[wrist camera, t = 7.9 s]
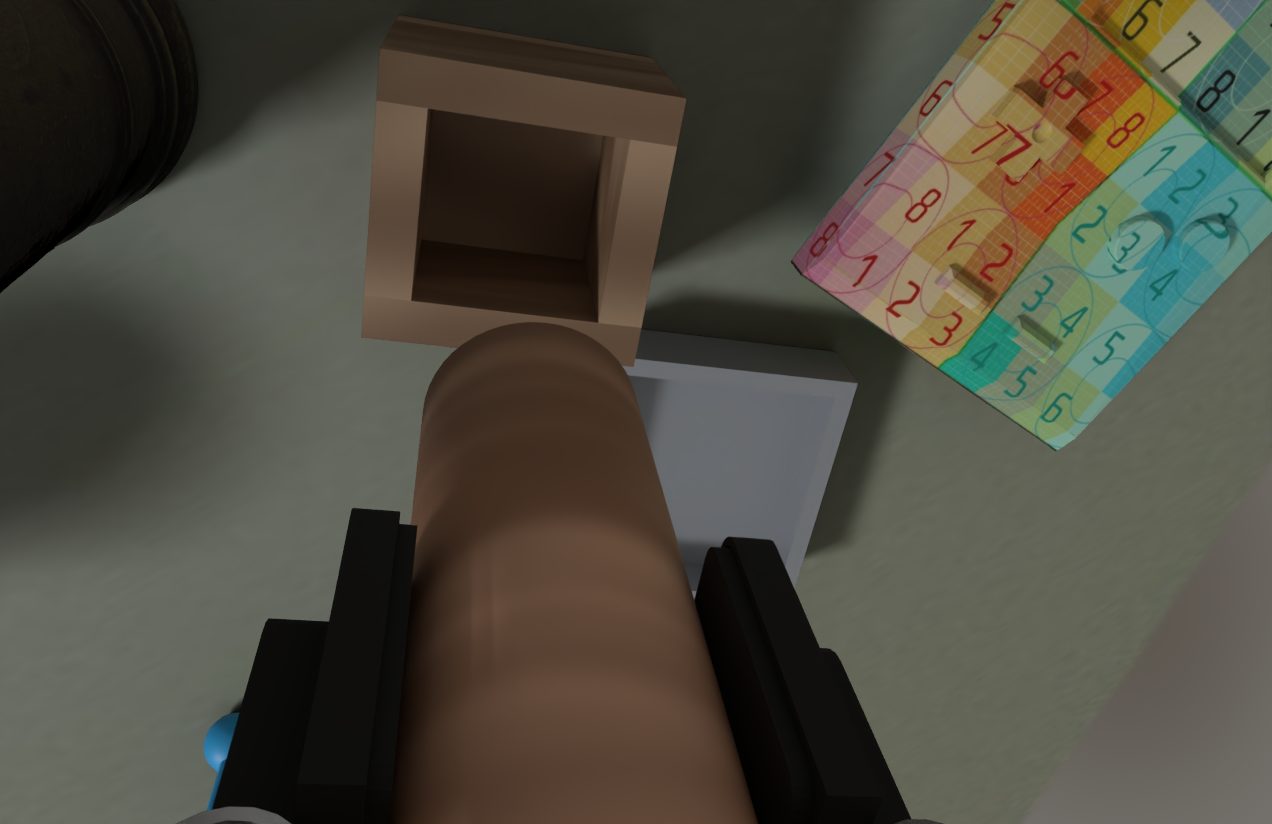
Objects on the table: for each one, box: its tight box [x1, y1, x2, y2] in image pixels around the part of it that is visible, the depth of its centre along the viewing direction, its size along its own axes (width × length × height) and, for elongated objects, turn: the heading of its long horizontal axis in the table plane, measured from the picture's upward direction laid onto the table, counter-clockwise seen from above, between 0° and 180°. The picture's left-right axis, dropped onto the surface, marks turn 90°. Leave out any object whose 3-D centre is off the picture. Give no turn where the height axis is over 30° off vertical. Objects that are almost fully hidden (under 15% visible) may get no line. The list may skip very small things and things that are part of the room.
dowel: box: [389, 322, 758, 824], centre depth 12 cm, size 4×4×11 cm
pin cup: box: [361, 15, 686, 367], centre depth 29 cm, size 7×7×6 cm
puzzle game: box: [791, 0, 1272, 451], centre depth 31 cm, size 12×5×20 cm
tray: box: [622, 329, 858, 599], centre depth 36 cm, size 10×8×2 cm
